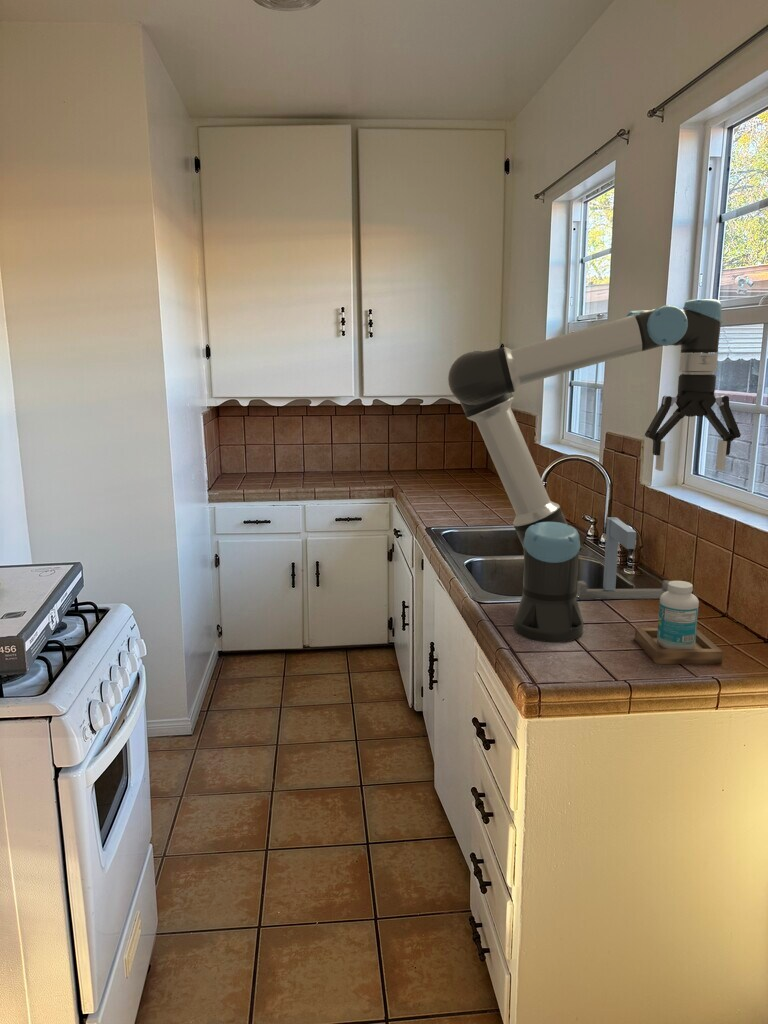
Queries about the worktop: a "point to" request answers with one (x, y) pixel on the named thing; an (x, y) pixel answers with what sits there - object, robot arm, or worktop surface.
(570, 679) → the worktop surface
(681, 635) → the pill bottle
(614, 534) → the bar
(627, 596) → the gate rail
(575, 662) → the worktop surface
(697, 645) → the open box
